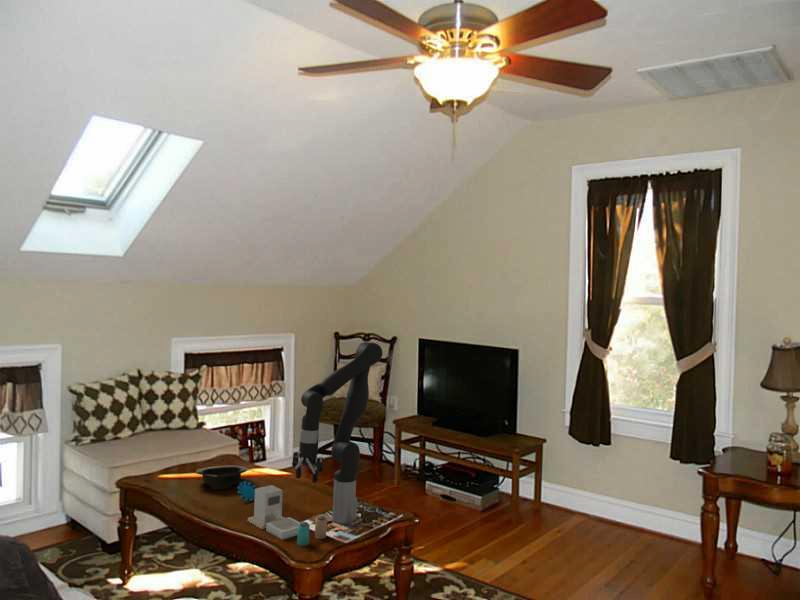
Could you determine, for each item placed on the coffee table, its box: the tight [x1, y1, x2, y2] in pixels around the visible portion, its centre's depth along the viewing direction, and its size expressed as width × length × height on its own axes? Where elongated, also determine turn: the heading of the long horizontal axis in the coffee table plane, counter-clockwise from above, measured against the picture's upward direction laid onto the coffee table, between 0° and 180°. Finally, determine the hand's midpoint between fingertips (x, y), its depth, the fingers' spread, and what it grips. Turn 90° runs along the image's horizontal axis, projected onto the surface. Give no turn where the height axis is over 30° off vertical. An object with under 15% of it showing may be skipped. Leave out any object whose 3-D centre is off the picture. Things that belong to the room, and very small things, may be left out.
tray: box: [265, 517, 301, 541], centre depth 260 cm, size 11×11×3 cm
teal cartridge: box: [296, 521, 310, 547], centre depth 249 cm, size 4×4×8 cm
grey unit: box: [247, 484, 286, 530], centre depth 269 cm, size 12×11×14 cm
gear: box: [237, 480, 256, 502], centre depth 295 cm, size 11×6×10 cm
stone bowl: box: [195, 464, 250, 491], centre depth 314 cm, size 25×25×9 cm
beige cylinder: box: [314, 515, 328, 540], centre depth 256 cm, size 4×4×8 cm
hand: (306, 480), depth 267 cm, fingers open, 8 cm apart
